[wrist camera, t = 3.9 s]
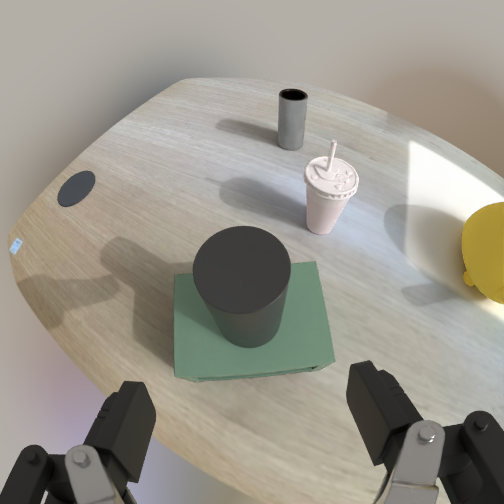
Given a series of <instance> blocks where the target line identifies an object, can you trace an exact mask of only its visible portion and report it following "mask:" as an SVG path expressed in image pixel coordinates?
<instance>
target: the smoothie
mask: <svg viewBox="0 0 504 504" xmlns="http://www.w3.org/2000/svg"><path fill="white" fill-rule="evenodd" d="M336 144H337V141H336V140H332V142H331V147H330V152H329V156H322V157H317V158H314V159H312V160H311V161H309V162H308V163H307V165H306V167H305V171H304V181H305V183H306V199H307V227H308V229H309V230H310V231H311V232H313V233H315V234H318V235H325V234H327V233H329V232H330V231H331V229H332V228H333V226H334V224H335V222H336V221H337V219H338V217H339V215H340V214H341V212H342V210H343V208H344V206H345V205H346V203H347V201H348V199H349V197H351V196H352V195H353V194H354V193H355V192H356V190H357V185H358V182H359V178H358V174H357V172H356V171H355V169H354V168H353V167H352V166H351V165H350V164H348V163H347V162H345V161H343V160H341V159H339V158H335V157H334V153H335V149H336Z"/></svg>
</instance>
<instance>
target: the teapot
mask: <svg viewBox="0 0 504 504" xmlns="http://www.w3.org/2000/svg"><path fill="white" fill-rule="evenodd" d="M461 241H462V254H463V260H464V264H465V267H466V269H467V270H466V271H465V272H464V274H463V279H464V281H465V283H466V284H467V285H468V286H470V287H473V286H474V285H475V286H476V287H477V288H478V290H479V291H480V292H481V293H482V294H484V295H485V296H486V297H488V298H490V299H491V300H493V301H495V302H498V303H500V304H504V202H499V203H494V204H491V205H487V206H485V207H483V208H481V209H479V210H478V211H476V212H475V213H474V214H472V215H471V216H470V217H469V219H468V220H467V221H466V223H465V225H464V227H463V231H462V239H461Z"/></svg>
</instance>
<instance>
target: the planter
mask: <svg viewBox="0 0 504 504" xmlns="http://www.w3.org/2000/svg"><path fill="white" fill-rule="evenodd" d="M307 98H308V96H307V94H306V93H305V92H303V91H301V90H298V89H285V90H282V91H281V92H280V93H279V117H278V144H279V146H280V147H282V148H284V149H287V150H297V149H299V148H301V147H302V145H303V138H304V129H305V119H306V109H307Z"/></svg>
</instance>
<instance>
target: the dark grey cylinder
mask: <svg viewBox="0 0 504 504" xmlns="http://www.w3.org/2000/svg"><path fill="white" fill-rule="evenodd" d="M290 275H291V262H290V258H289V255H288V252H287V250H286V249H285V247H284V245H283V244H282V243H281V242H280V241H279V240H278V239H277V238H276V237H275V236H274V235H272V234H271V233H269V232H267V231H265V230H263V229H260V228H256V227H251V226H236V227H231V228H227V229H224V230H222V231H220V232H218V233H216V234H214V235H213V236H211V237H210V238H209V239H208V240H207V241H206V242H205V243H204V244H203V245H202V246H201V248H200V249H199V251H198V253H197V255H196V257H195V260H194V264H193V279H194V283H195V286H196V288H197V290H198V292H199V294H200V296H201V297H202V299H203V301H204V303H205V305H206V306H207V308H208V310H209V312H210V313H211V315H212V317H213V319H214V320H215V322H216V324H217V325H218V327H219V329H220V330H221V332H222V334H223V335H224V337H225V338H226V339H227V340H228V341H229V342H231V343H232V344H234V345H236V346H239V347H242V348H256V347H260V346H262V345H265V344H266V343H268V342H269V341H270V340H272V339H273V337H274V336H275V335H276V334H277V332H278V330H279V327H280V323H281V319H282V314H283V309H284V305H285V300H286V295H287V290H288V285H289V280H290Z"/></svg>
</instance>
